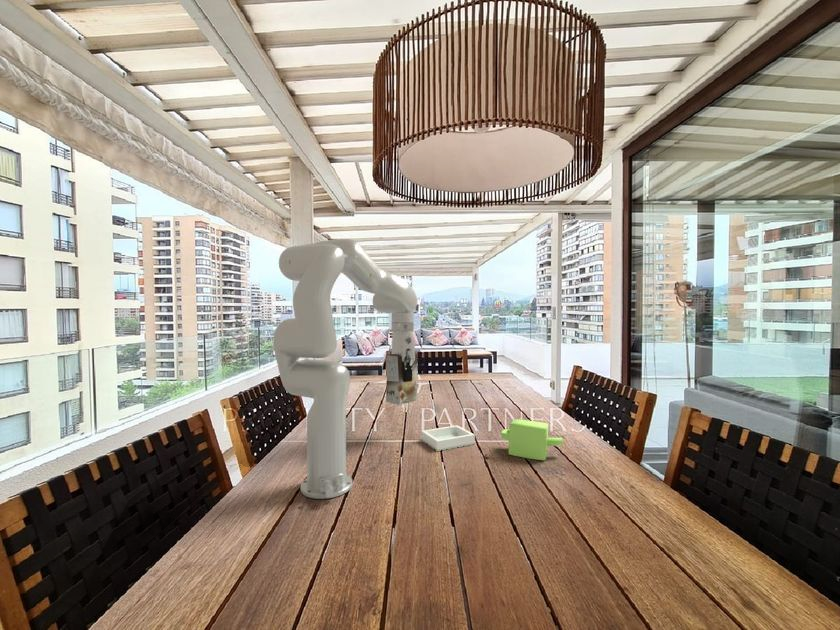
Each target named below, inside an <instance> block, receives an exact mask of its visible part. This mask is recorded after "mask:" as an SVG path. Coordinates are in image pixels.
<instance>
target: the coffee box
mask: <svg viewBox="0 0 840 630" xmlns="http://www.w3.org/2000/svg"><path fill="white" fill-rule="evenodd" d="M418 355H419V354H418V353H415V361H414V362H413V363H414V364H413V369H412V381H410V382H403V370H404V367H403V362H402V356H399V355H395V354H391V353H390V354H389V353H388V354H386V381H385V382H386V385H385V386H386V390H385V391H386V392H385V393H386V394H385V396H386V397H385V402H386V403H389V404H393V405H397V406H399V405H400V406H401V405H404V404H408V403H412V402H416V401H418V358H419V357H418ZM404 360H409V359H407V356H406V357H405V358H404ZM406 365H407V363H406Z"/></svg>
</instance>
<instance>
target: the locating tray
mask: <svg viewBox="0 0 840 630" xmlns="http://www.w3.org/2000/svg"><path fill="white" fill-rule="evenodd" d="M421 441H422V442H423V441H424V443H425V444H426V443H427V444H428V445H427V444H426V445H427V446H429V447H430V446H431V447H430V448H431V449H432V450H434V449H435V450H434V451H435V452H437V451H438V452H441V450H443V451H447V450H446V449H448V450H453V449H457V447H459V448H464V447H469V446H474V445H473V444H476V435H475V433H472V432H471V431H469V430H467V429H465V428H463V427H461V426H460V425H451V426H445V427H438V428H432V429H424V430H421ZM468 445H469V446H468ZM463 446H464V447H463ZM452 448H453V449H452Z"/></svg>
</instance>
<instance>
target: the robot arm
mask: <svg viewBox="0 0 840 630" xmlns="http://www.w3.org/2000/svg"><path fill="white" fill-rule="evenodd" d="M278 268H279V271H280V272H281V274H282V275H283V276H284V277H285V278H286V279H288V280H290V281H294V282H295V281H297V282H298V283H297V285H296V286H295V290H294V292H293V297H292V306H293V307H292V308H293V313H294V318H293V317H292V318H287V319H284V320H282V321H281V322H279V324H278V325H277V326H276V328H275V329H274V330H275V331H274V333H273V338H272V343H273V344H272V346H273V350H274V355H275V359H276V363H277V364H276V365H277V367H278V373H279V377H280V380H281V383H282V386H283V388H284V389H285V391H286V392H287V393H288V394H290V395H292V396H298V397H301V398H310V399H313V401H312V402H313V403H312V405H311V406H310V408H309V410H308V411H307V415H306V478H305V479H303V481H302V482H301V483H300V487H299V491H300V492H301V494H303V496H305V497H306V498H310V499H316V500H325V499H326V500H327V499H332V498H337V497H340V496H342V495H344V494H346V493H347V492H349V491H350V490H351V489H352V487H353V478H352V477H351V475H349V474H347V403H348V402H347V401H348V395H349V390H350V383H351V375H350V372H349V370H348V368H347V366H345V365H344V364H343V363H341V362H337V361H334V360H327V359H326V360H325V359H324V358H328V357H330V356H332V355H333V354H334V353H335V352H336V349H337V344H338V341H337V335H336V334H337V333H336V329H335V328H336V327H335V324H334V323H335V322H334V317H333V312H332V303H331V293H332V290H333V287H334V285H335V284H336V281H337V279H338V278H339V276H340V275H341V273H342V274H343V275H345V276H346V277H347V278H348V279H349V280H350V281H351V283H353V284H354V285H355V286H356V287H357V288H358V289H359V290H361V291H363V292H366V293H370V294H373V295H372V307H374V309H375V310H376V311H377V312H379V313H382V314H391V320H390V321H391V323H390V325H391V329H390V330H391V331H390V332H391V333H392V335H391V336H392V337H391V338H392V339H391V353H390V354H395V355H399V356H402V362H403V367H404V370H403V382H410V381H412V369H413V364H414V363H413V362H414V361H415V354H416V346H415V344H416V343H415V337H414V336H415V335H414V330H415V329H414V328H415V327H414V323H415V321H414V320H415V317H414V315H415V314H414V313H415V310H416V308H417V305H418V298H417V295H416V293H415V290H414V289H413V288H412V286H411V285H410V284H409V282H408V281H406V280H405V279H404V278H402V277H401V276H399V275H397V274H394V273H392V272H390V271H388V270H386V269H383V268H381V267H379V266H378V264H377V263H376V262H375V261H374V260H373V259H372V257H370V255H369V254H368V253H367V251H366V250H364V249H363V247H362V246H361V244H359V243H358V242H357V241H356V240H353V239H350V238H339V239H332V240H330V239H329V240H322V241H317V242H312V243H307V244H306V243H305V244H300V245H295V246H294V245H293V246H290V247H287V248H285V249H284V250H283V251H282V252H281V254H280V255H279V259H278ZM406 356H407V359H409V360H404V358H405V357H406ZM406 363H407V365H406Z"/></svg>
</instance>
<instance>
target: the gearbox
mask: <svg viewBox="0 0 840 630" xmlns="http://www.w3.org/2000/svg"><path fill="white" fill-rule="evenodd" d="M508 427H509V429H503V430H502V431H501V439H502V440H506V441H508V455H510V456H513V457H519V458H520V457H521V458H524V459H531V460H539V461H546V460H547V459H546V458H547V455H548V454H547V453H548V447H552V446H553V447H554V446H562V445H564V440H563V439H562V437H548V434H549V433H548V431H549V429H548V428H549V424H548V422H547V423H546V422H540V421H533V420H525V419H516V418H515V419H513V420H512V421H511V422H510V423H509V426H508Z"/></svg>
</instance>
